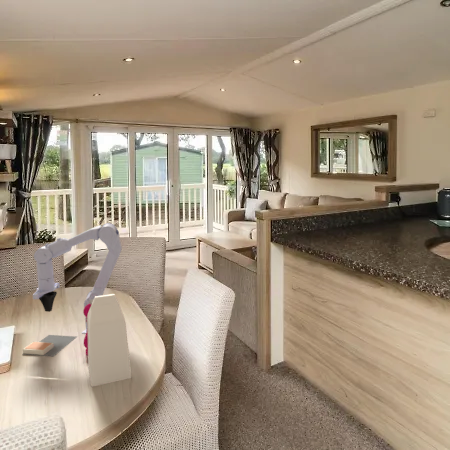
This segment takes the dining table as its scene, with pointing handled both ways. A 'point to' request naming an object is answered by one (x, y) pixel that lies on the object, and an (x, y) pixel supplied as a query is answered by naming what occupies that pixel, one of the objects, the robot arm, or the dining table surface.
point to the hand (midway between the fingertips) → (48, 310)
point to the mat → (56, 344)
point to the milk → (107, 341)
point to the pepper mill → (85, 311)
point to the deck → (38, 348)
